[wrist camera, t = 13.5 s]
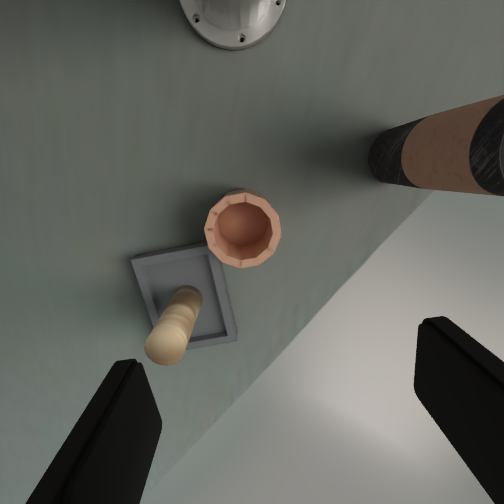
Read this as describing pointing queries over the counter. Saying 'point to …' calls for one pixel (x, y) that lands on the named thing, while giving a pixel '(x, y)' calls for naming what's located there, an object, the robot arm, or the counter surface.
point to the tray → (193, 274)
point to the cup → (242, 229)
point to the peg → (174, 327)
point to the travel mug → (446, 150)
